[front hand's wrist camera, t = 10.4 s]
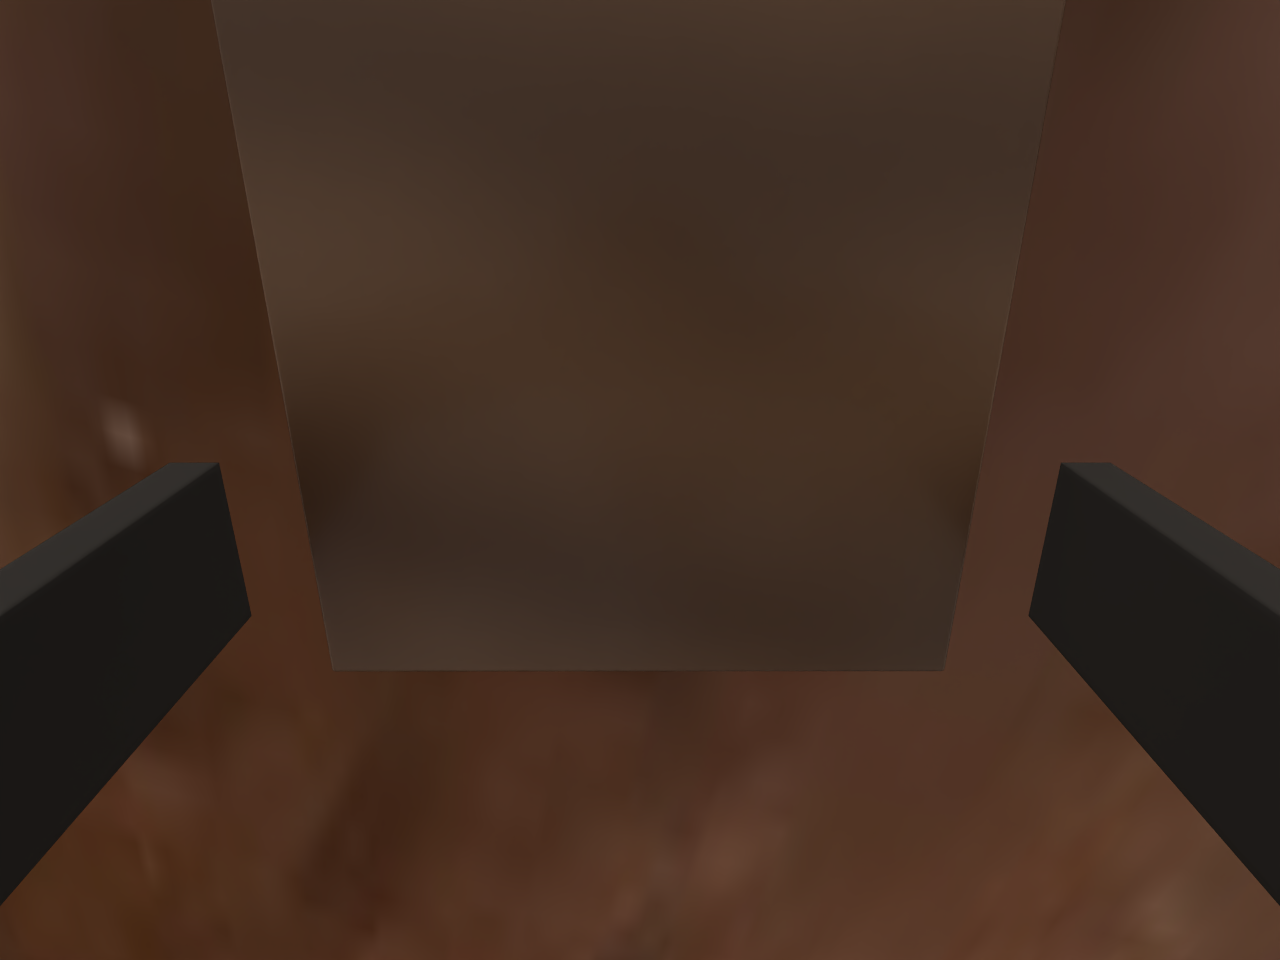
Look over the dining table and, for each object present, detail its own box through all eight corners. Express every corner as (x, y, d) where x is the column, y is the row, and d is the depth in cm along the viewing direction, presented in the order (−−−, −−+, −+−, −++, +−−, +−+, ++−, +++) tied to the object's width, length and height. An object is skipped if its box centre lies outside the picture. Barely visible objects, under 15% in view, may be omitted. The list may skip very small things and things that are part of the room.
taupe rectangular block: (367, -379, 16) (11, -1078, 7) (909, -378, 16) (1263, -1071, 7) (451, 468, 23) (332, 672, 14) (825, 468, 23) (945, 672, 14)
